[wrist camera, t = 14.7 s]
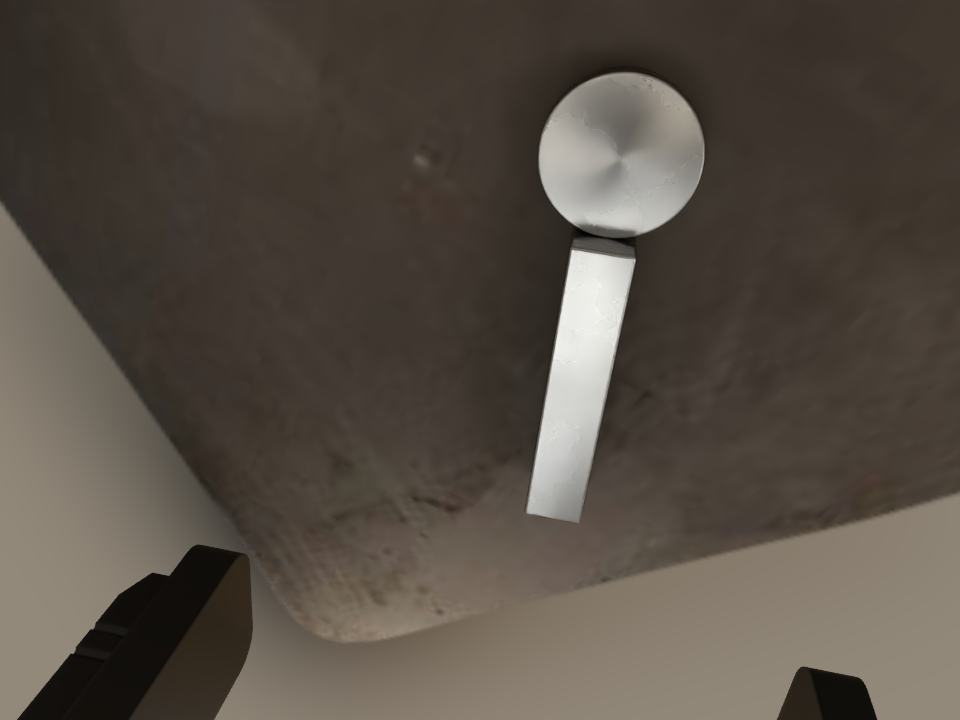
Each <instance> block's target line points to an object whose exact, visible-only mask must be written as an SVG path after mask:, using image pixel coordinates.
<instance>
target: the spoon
mask: <svg viewBox="0 0 960 720" xmlns="http://www.w3.org/2000/svg"><path fill="white" fill-rule="evenodd" d="M704 163H705V139H704V134H703V129H702V126H701V123H700V121H699V118H698V116H697V114H696V112H695V110H694V108H693V106H692V105H691V103H690V101H689V100H688V99H687V97H686V96H685V95H684V93H683V92H682V91H681V90H680V89H679V88H678V87H677V86H676V85H674V84H673V83H672V82H670V81H669V80H667V79H666V78H664V77H662V76H660V75H658V74H656V73H653V72H651V71H648V70H644V69H639V68H630V67H620V68H611V69H606V70H602V71H599V72H596V73H594V74H591V75H589V76H587V77H585V78H583V79H582V80H580V81H579V82H577V83H576V84H574V85H573V86H572V87H571V88H570V89H568V90H567V91H566V92H565V93H564V94H563V95H562V96H561V98H560V99H559V100H558V101H557V103H556V104H555V106H554V107H553V109H552V110H551V112H550V114H549V116H548V118H547V120H546V122H545V124H544V126H543V129H542V132H541V135H540V139H539V144H538V153H537V164H538V172H539V178H540V181H541V184H542V187H543V190H544V192H545V194H546V196H547V198H548V200H549V201H550V203H551V204H552V206H553V207H554V208H555V210H556V211H557V212H558V213H559V214H560V215H561V216H562V217H563V218H564V219H565V220H566V221H568V222H569V223H571V224H572V225H573V226H574V228H573V233H572V238H571V243H570V249H569V254H568V260H567V266H566V272H565V278H564V283H563V289H562V295H561V301H560V307H559V313H558V318H557V324H556V330H555V336H554V342H553V348H552V353H551V359H550V365H549V371H548V377H547V383H546V388H545V394H544V400H543V406H542V412H541V418H540V423H539V429H538V435H537V441H536V447H535V453H534V458H533V464H532V470H531V476H530V482H529V487H528V493H527V499H526V505H525V513H526V514H529V515H534V516H539V517H544V518H550V519H555V520H560V521H565V522H570V523H576V524H579V523H580V522H581V517H582V512H583V508H584V503H585V499H586V494H587V489H588V485H589V480H590V475H591V471H592V466H593V461H594V457H595V452H596V447H597V443H598V438H599V433H600V429H601V424H602V419H603V415H604V410H605V405H606V401H607V396H608V391H609V387H610V382H611V377H612V373H613V368H614V364H615V359H616V354H617V350H618V345H619V340H620V336H621V331H622V326H623V322H624V317H625V312H626V308H627V303H628V298H629V294H630V289H631V284H632V280H633V275H634V270H635V266H636V261H637V253H636V236H639V235H643V234H646V233H649V232H651V231H653V230H656V229H657V228H659V227H661V226H663V225H664V224H666V223H667V222H669V221H670V220H671V219H673V218H674V217H675V216H676V215H677V214H678V213H679V212H680V211H681V210H682V209H683V208H684V207H685V206H686V204H687V203H688V202H689V201H690V199H691V197H692V196H693V194H694V193H695V191H696V189H697V186H698V184H699V182H700V179H701V176H702V173H703V168H704Z"/></svg>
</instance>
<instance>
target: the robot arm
mask: <svg viewBox="0 0 960 720" xmlns="http://www.w3.org/2000/svg"><path fill="white" fill-rule="evenodd" d="M252 631H253V621H252V602H251V582H250V563H249V558H248V556H247V555H246V554H244V553H239V552H234V551H229V550H224V549H219V548H214V547H209V546H204V545H195V546H193V547H192V548H191V549H190V550H189V551H188V552H187V553H186V555H185V556H184V557H183V559H182V560H181V562H180V563H179V564H178V566H177V567H176V568H175V569H174V571H173V572H172V573H171V575H170V576H166V575H161V574H156V573H151V574H150V575H148V576H147V577H145V578H143V579H142V580H141V581H139V582H137V583H136V584H134V585H133V586H131V587H130V588H128V589H127V590H125V591H124V592H122V593H121V594H119V595H118V597H117V598H116V599H115V600H114V602H113V603H112V604H111V605H110V606H109V607H108V609H107V610H106V611H105V612H104V614H103V615H102V616H101V618H100V619H99V620H98V621H97V622H96V624H95V628H94V629H93V630H92V629H91V630H90V631H89V632H88V633H87V635H86V636H85V637H84V638H83V639H82V641H81V642H80V643H79V644H78V645H77V647H76V651H75V653H74V654H70V655H69V657H68V658H67V659H66V660H65V661H64V663H63V664H62V665H61V666H60V668H59V669H58V670H57V671H56V673H55V674H54V675H53V676H52V677H51V679H50V680H49V681H48V682H47V684H46V685H45V686H44V687H43V688H42V690H41V691H40V692H39V693H38V695H37V696H36V697H35V698H34V700H33V701H32V702H31V703H30V704H29V706H28V707H27V708H26V709H25V711H24V712H23V713H22V714H21V715H20V717H19V718H18V719H17V720H214V719H215V717H216V715H217V713H218V712H219V710H220V708H221V706H222V704H223V703H224V701H225V699H226V697H227V695H228V694H229V692H230V690H231V688H232V686H233V684H234V683H235V681H236V679H237V677H238V675H239V674H240V672H241V670H242V668H243V665H244V663H245V661H246V658H247V655H248V652H249V648H250V644H251V639H252ZM777 720H877V718H876V714H875V711H874V708H873V705H872V703H871V699H870V697H869V694H868V690H867V688H866V686H865V684H864V682H863V681H862V680H861V679H860V678H858V677H854V676H849V675H844V674H839V673H833V672H828V671H823V670H818V669H813V668H808V667H801V668H800V669H798V671H797V672H796V674H795V676H794V679H793V681H792V684H791V686H790V689H789V691H788V694H787V696H786V699H785V701H784V704H783V706H782V708H781V711H780V713H779V717H778V718H777Z"/></svg>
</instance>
